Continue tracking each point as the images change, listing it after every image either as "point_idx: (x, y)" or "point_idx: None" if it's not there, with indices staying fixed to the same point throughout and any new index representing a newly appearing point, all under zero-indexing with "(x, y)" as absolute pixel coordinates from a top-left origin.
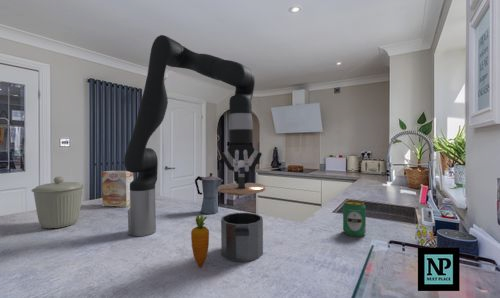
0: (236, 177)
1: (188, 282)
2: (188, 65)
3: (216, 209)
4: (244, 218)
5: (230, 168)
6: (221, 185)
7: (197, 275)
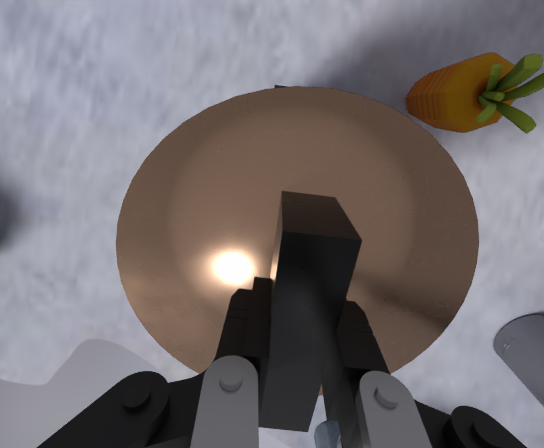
0: (351, 320)
1: (455, 11)
2: None
3: (321, 435)
4: None
5: (476, 422)
6: (423, 341)
7: (425, 51)
